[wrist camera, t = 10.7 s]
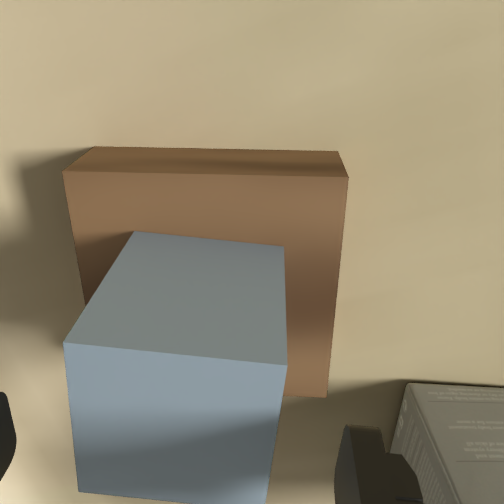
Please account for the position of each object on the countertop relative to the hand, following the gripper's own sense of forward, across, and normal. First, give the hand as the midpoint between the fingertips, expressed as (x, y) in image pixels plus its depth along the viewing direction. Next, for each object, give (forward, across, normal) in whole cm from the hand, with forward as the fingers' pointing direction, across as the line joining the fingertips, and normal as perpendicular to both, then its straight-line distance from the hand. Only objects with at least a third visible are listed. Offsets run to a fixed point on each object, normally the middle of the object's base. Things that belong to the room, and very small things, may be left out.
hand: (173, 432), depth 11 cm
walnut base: (+10, 0, 0) cm, 10 cm away
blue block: (+6, 0, 0) cm, 6 cm away
